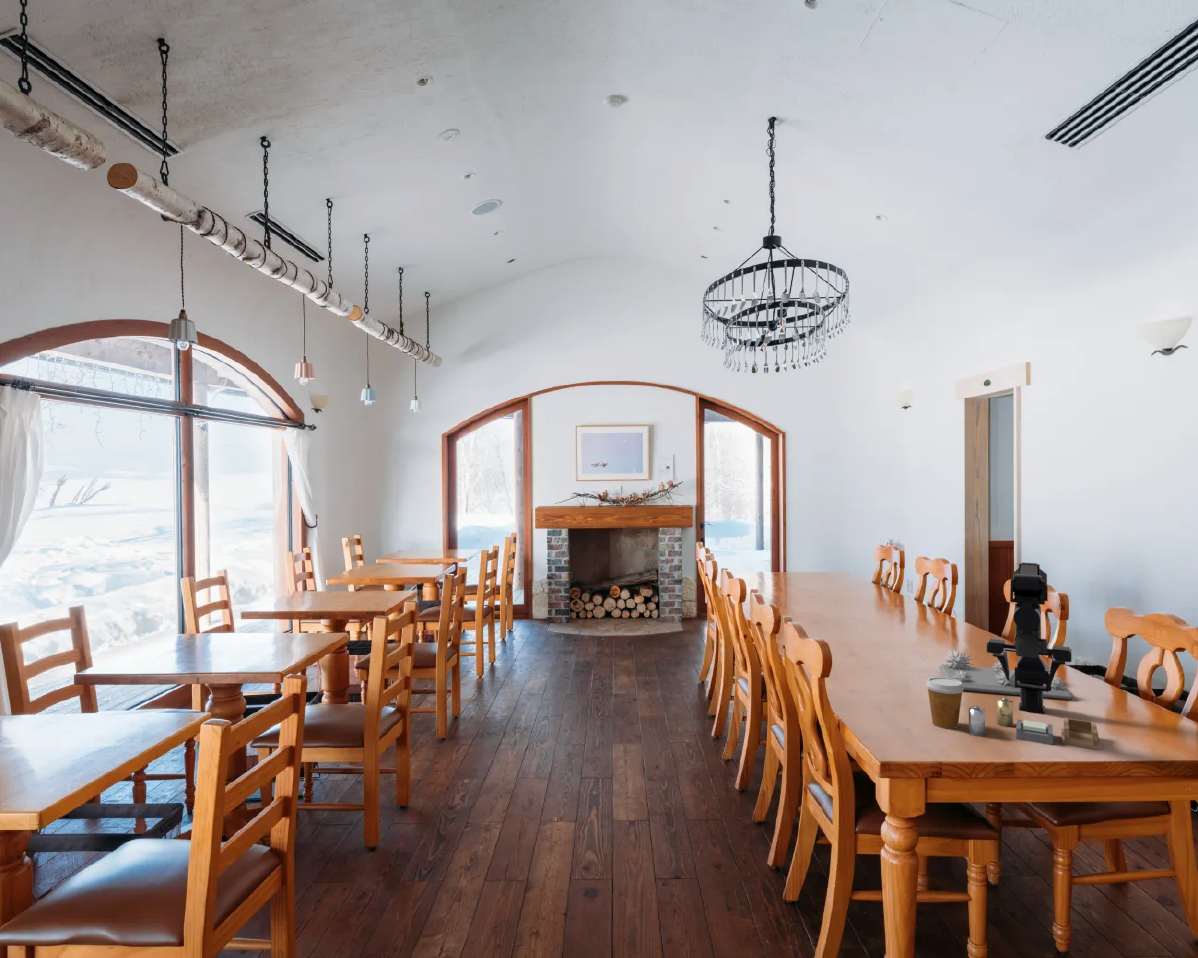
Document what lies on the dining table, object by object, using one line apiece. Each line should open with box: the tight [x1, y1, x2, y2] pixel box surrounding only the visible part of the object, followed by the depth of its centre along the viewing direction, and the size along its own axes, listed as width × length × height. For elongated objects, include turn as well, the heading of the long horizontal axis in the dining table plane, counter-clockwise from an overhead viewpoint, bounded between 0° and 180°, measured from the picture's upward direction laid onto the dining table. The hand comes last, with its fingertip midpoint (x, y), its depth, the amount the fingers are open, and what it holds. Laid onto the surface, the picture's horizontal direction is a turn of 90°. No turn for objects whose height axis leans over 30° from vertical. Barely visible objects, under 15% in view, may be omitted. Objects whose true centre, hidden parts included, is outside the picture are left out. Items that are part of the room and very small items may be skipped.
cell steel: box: [968, 705, 986, 737], centre depth 185 cm, size 4×4×7 cm
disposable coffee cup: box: [925, 676, 965, 730], centre depth 192 cm, size 10×10×12 cm
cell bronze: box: [996, 697, 1014, 728], centre depth 192 cm, size 4×4×7 cm
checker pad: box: [1022, 719, 1047, 733], centre depth 182 cm, size 5×5×1 cm
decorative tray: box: [938, 648, 1074, 700], centre depth 230 cm, size 35×26×10 cm
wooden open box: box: [1061, 717, 1102, 751], centre depth 180 cm, size 10×8×4 cm
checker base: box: [1015, 718, 1054, 746], centre depth 182 cm, size 8×8×3 cm
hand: (1028, 682), depth 181 cm, fingers open, 9 cm apart
